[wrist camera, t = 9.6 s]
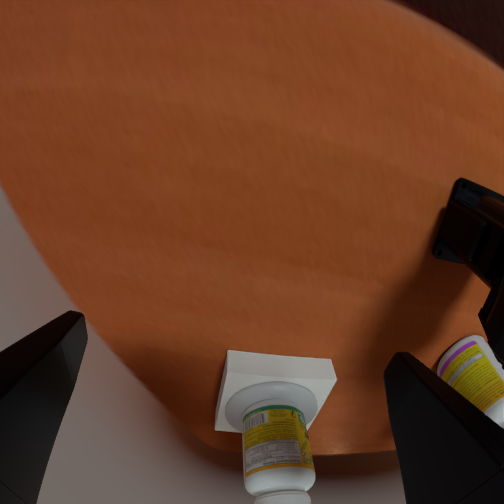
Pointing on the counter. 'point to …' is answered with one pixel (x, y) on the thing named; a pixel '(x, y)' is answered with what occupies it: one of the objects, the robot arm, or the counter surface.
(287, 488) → the supplement bottle
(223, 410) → the scale
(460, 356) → the supplement bottle
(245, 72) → the counter surface
